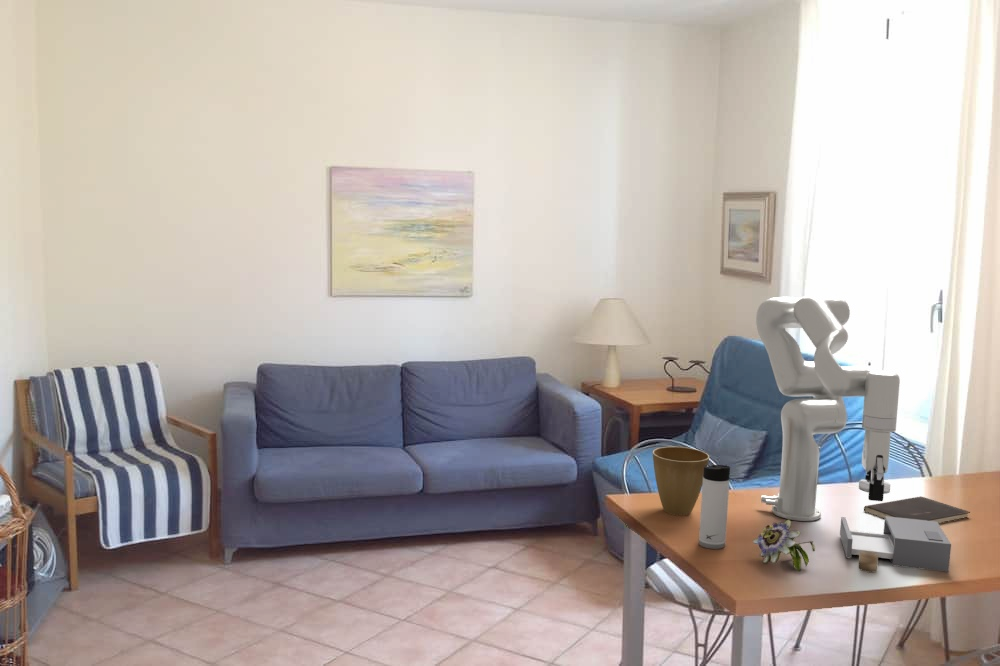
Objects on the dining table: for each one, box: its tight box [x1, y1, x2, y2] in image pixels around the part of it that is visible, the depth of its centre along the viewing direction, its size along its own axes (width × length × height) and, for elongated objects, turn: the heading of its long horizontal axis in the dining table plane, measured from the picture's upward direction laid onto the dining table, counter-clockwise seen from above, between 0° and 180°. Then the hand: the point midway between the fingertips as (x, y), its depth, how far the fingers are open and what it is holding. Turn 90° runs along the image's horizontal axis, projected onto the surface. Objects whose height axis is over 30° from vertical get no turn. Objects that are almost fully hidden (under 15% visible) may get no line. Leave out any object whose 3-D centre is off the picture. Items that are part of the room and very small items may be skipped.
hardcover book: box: [863, 496, 971, 524], centre depth 263 cm, size 16×23×2 cm
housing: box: [882, 516, 952, 573], centre depth 230 cm, size 12×17×7 cm
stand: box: [857, 551, 879, 573], centre depth 221 cm, size 4×4×4 cm
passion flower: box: [752, 519, 816, 572], centre depth 223 cm, size 11×11×12 cm
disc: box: [858, 479, 891, 495], centre depth 231 cm, size 7×7×2 cm
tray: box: [839, 516, 894, 560], centre depth 233 cm, size 12×17×5 cm
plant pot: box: [652, 446, 710, 516], centre depth 258 cm, size 15×15×16 cm
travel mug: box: [698, 464, 731, 550], centre depth 232 cm, size 6×7×20 cm
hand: (873, 495), depth 231 cm, fingers closed on disc, 6 cm apart
